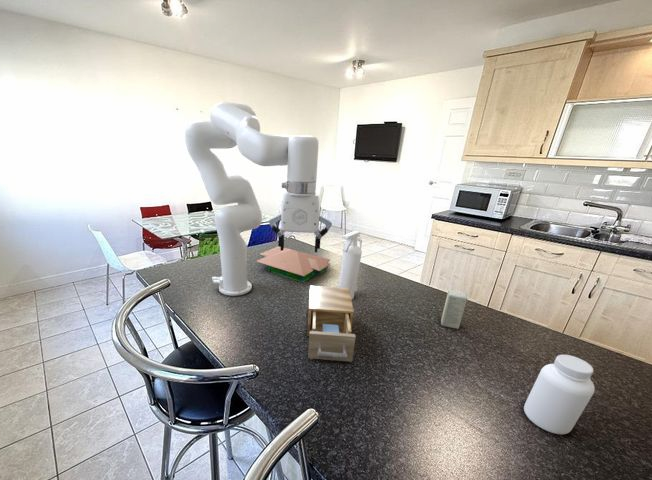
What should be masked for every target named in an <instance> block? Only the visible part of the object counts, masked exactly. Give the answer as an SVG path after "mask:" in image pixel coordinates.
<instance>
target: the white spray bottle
mask: <svg viewBox="0 0 652 480" xmlns="http://www.w3.org/2000/svg"><path fill="white" fill-rule="evenodd" d="M359 237H361V233H360V231H359V230H352V231H350V232H347V233H346V234H343V235H342V237H341V238H342V240H346V241H345V242H344V243H343V246H342V249H341V250H342V256H341V257H342V258H341V265H340V271H339V277H338V282H337V283H338V284H337V285H338V286H337V287H341V288H349V291H350V296H351V301H352V300H354V298H355V292H357V291H358V288H357V282H358V281H357V280H358V275H359V271H360V264H361V260H362V253H363V251H362V246H363V245H362V244H363V240H362V239H361V238H359ZM358 242H359V246H358Z"/></svg>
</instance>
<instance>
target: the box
mask: <svg viewBox="0 0 652 480" xmlns="http://www.w3.org/2000/svg"><path fill="white" fill-rule="evenodd" d="M467 301H468V294H467V292H465V291H459V290H453V289H448V290H447V293H446V298H445V303H444V305H443V310H442V313H441V318H440V325H441V326H443V327H446V328H452V329H457V330H459V329H460V326H461V323H462V318H463V316H464V312H465V308H466V305H467Z"/></svg>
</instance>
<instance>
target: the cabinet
mask: <svg viewBox="0 0 652 480" xmlns="http://www.w3.org/2000/svg"><path fill="white" fill-rule="evenodd" d="M313 311H320V312H335V313H348V314H349V319H350V325H351V330H352V327H353V321H354V313H355V310H354V305H353V301H352V300H351V296H350V291H349V288H341V287H338V286H324V285H323V286H321V285H309V297H308V313H307V329H306V330H307V331H306V337H309V335H310V331H312V318H313Z"/></svg>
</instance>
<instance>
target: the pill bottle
mask: <svg viewBox="0 0 652 480" xmlns="http://www.w3.org/2000/svg"><path fill="white" fill-rule="evenodd" d="M593 373H594V368H593V366H592V365H591V364H590V363H589V362H587V361H585V360H583V359H581V358H580V357H577V356H574V355H569V354H558V355H556V357H555V360H554V362H553V363H548V364H546V365H543V367H542V368H541V369H540V372H539V373H538V375H537V378H536V379H535V381H534V384H533V385H532V388H531V390H530V392H529V394H528V396H527V398H526V401H525V403H524V406H523V411H524V414H525V416H526V417H527V418H528V420H529V421H531V422H532V423H533V424H534V425H535V426H537V427H538V428H541V429H542V430H544V431H546V432H548V433H551V434H556V435H566V434H569V433H570V432H571V431H572V430H573V429H574V427H575V425H576V424H577V422H578V420H579V418H580V417H581V416H582V414H583V412H584V410H585V409H586V407H587V406H588V404H589V402H590V400H591V399H592V396H593V395H594V394H595V384H594V382H593V380H591V377H592V376H593Z"/></svg>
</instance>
